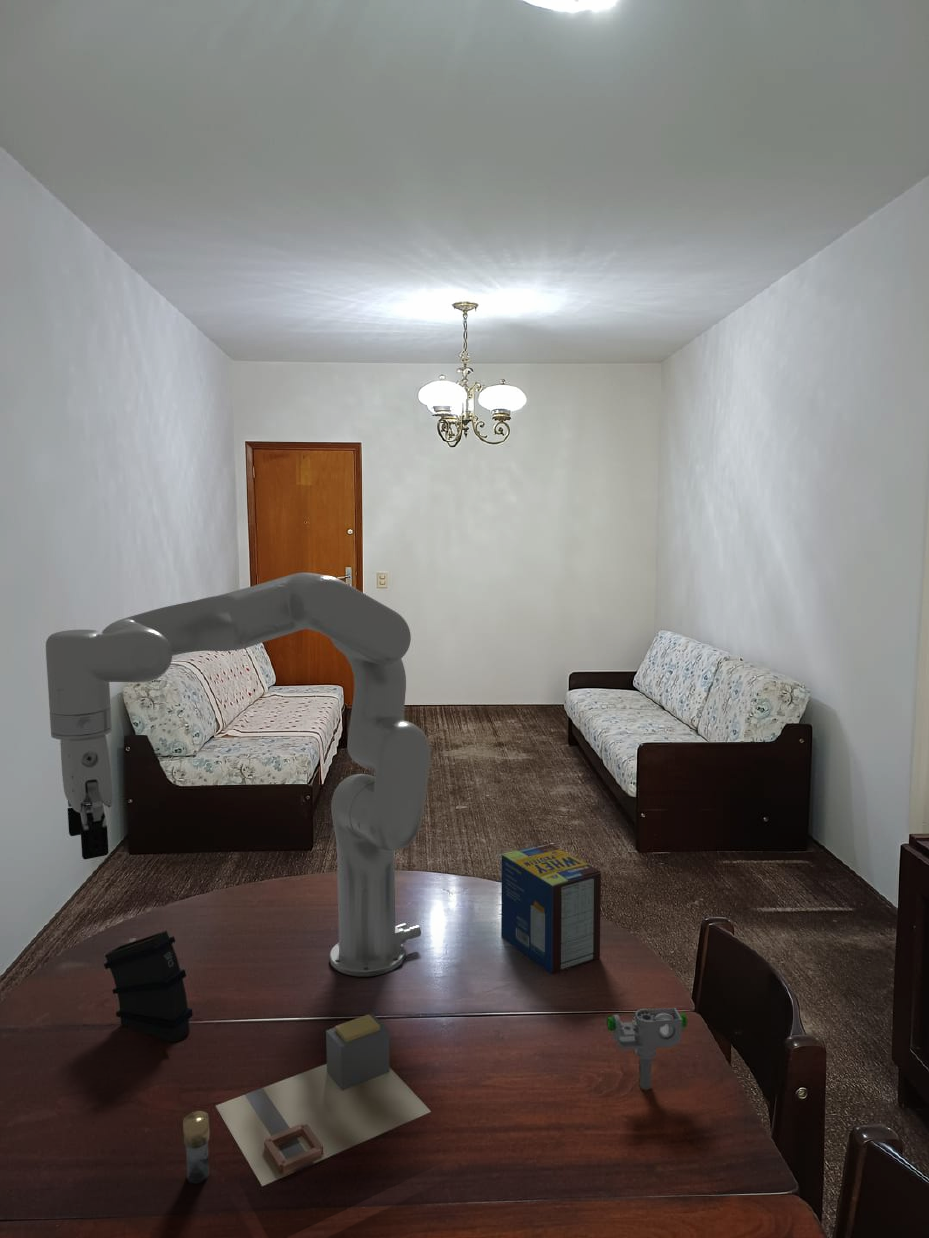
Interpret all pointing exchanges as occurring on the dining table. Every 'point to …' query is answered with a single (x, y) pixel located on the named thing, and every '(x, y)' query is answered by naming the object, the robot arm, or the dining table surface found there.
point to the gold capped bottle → (196, 1145)
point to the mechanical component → (648, 1035)
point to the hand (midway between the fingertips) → (88, 844)
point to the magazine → (150, 987)
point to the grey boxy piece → (357, 1051)
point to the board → (314, 1119)
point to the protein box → (551, 906)
